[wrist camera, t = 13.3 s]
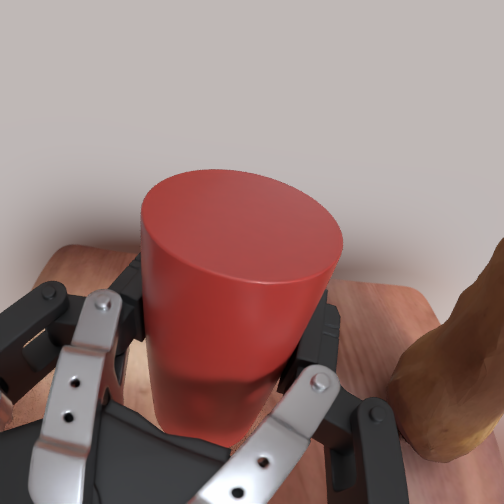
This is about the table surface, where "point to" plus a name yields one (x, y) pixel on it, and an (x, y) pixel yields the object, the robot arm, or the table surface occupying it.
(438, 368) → the butternut squash
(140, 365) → the table surface
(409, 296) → the table surface
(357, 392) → the table surface
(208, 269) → the red tin
